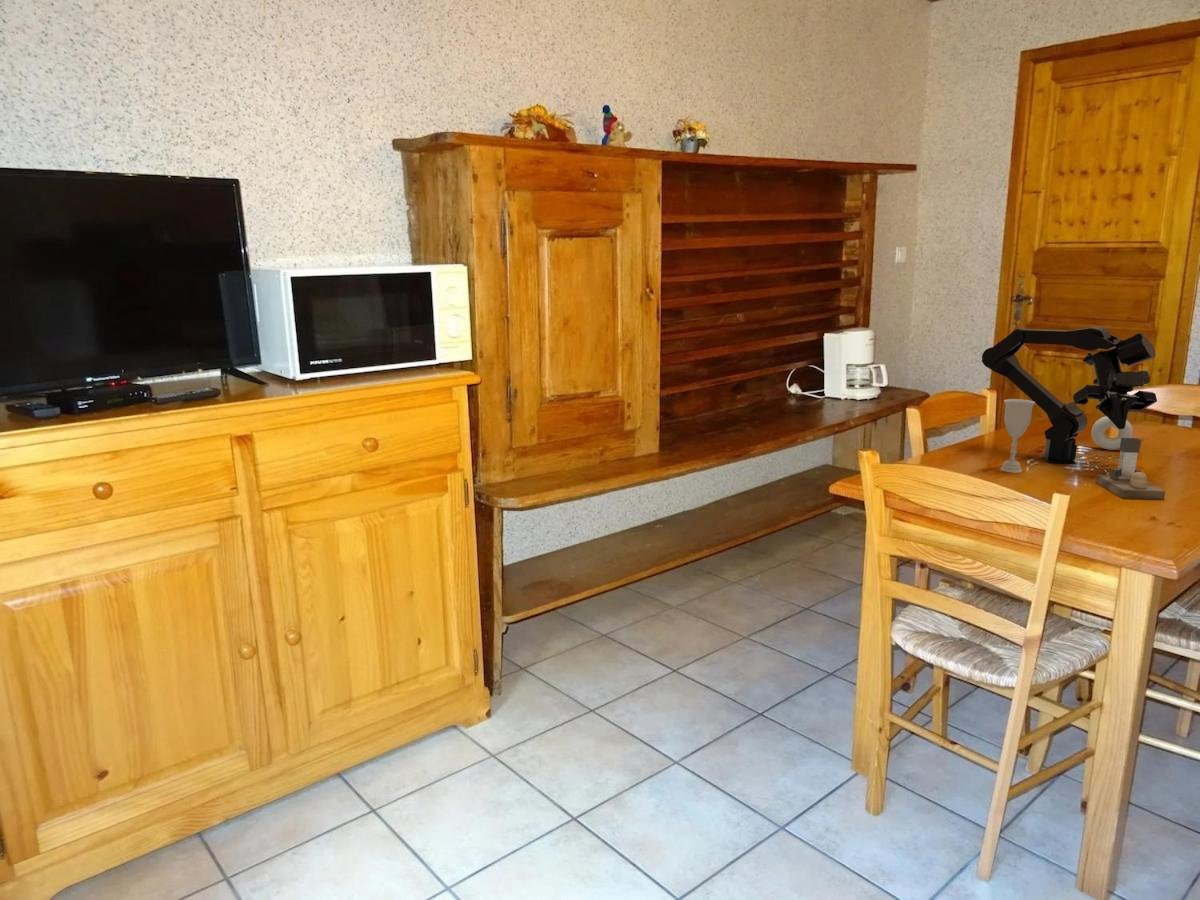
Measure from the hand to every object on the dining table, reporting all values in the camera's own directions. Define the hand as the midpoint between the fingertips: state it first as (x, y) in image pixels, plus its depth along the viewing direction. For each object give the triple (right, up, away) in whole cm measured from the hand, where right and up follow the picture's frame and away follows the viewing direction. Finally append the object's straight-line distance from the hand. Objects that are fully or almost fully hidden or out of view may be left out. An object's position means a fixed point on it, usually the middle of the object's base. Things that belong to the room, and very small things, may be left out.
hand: (1122, 428), depth 204 cm
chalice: (-22, -11, +12) cm, 27 cm away
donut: (+16, -5, +31) cm, 36 cm away
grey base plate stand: (-2, -15, -6) cm, 16 cm away
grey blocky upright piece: (-2, -11, -5) cm, 12 cm away
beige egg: (-3, -14, -10) cm, 17 cm away
